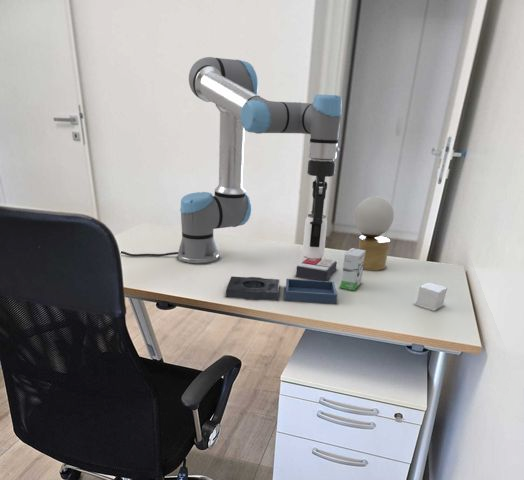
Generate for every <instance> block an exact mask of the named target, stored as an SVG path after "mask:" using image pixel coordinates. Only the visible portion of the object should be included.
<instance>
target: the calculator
mask: <svg viewBox="0 0 524 480" xmlns="http://www.w3.org/2000/svg"><path fill="white" fill-rule="evenodd" d="M337 264H338V261H336V260H335V259H329V258H323V257H322V258H320V259H309V258H305V259H304V260H303V261H302V262H301V263H299V264H298V265H297V266H296V271H295V273H296V274H295V277H298V278H304V279H308V280H316V281H329V279H330V276H331V275H332V274H333V273H334V272H335V271H336V270H337Z"/></svg>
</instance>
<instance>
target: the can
mask: <svg viewBox="0 0 524 480" xmlns="http://www.w3.org/2000/svg"><path fill="white" fill-rule="evenodd" d="M312 221H313V214H312V213H309V214H307V215H306V218H305V221H304V228H303V229H304V230H303V240H302V241H303V243H302V256H303V257H304V258H305V259H307V258H309V259H320V258H322V259H323V257H324V256H325V249H326V248H325V247H326V238H327V230H328V229H327V228H328V219H327V215H325V214H323V217H322V221H323V222H322V224H321V234H320V244H319V247H310V239H311V228H312V224H310V222H312Z"/></svg>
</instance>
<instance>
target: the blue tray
mask: <svg viewBox="0 0 524 480" xmlns="http://www.w3.org/2000/svg"><path fill="white" fill-rule="evenodd" d="M337 297H338V292H337V288H336V284H335V281H331V280H330V281H329V280H327V281H321V280H315V279H299V278H298V279H297V278H286V281H285V294H284V301H285V302H298V303H299V302H300V303H315V304H332V305H336V304H337Z"/></svg>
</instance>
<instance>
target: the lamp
mask: <svg viewBox="0 0 524 480" xmlns="http://www.w3.org/2000/svg"><path fill="white" fill-rule="evenodd" d="M394 218H395V212H394V208H393V206H392V204H391V203H390V201H388V200H387V199H386V198H384V197H382V196H376V195H375V196H369V197H366V198H365V199H363V200H362V201H361V202H360V203H359V204H358V205H357V207H356V209H355V211H354V216H353V221H354V224H355V227H356V229H357V230H358V232H360V233H361V234H362V235H360V236H359V237H358V244H357V249H360V250H365V257H364V263H363V270H365V271H373V272H374V271H375V272H376V271H382V270H384V269H385V268H386V265H387V259H388V253H389V248H390V243H391V240H390V239H389V238H388V237H385V236H382V235H383V234H385V233H386V232H387V231H388V230H389V229H390V228H391V226H392V224H393V222H394Z"/></svg>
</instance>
